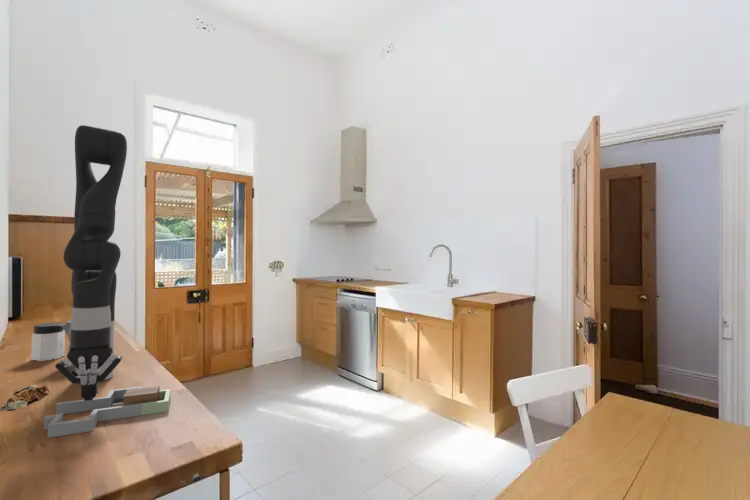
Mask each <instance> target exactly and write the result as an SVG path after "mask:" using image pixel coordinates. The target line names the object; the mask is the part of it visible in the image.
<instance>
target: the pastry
mask: <svg viewBox="0 0 750 500" xmlns="http://www.w3.org/2000/svg"><path fill="white" fill-rule="evenodd" d="M46 392H48V393H50V389H48V387H47V386H46V385H42V386H40V387H38V386H37V385H36V384H34V385H32V386H30V385H26V386H24V387H21V388H20V389H19V390H16V391H14V392H13V395H12V396H10V397H9V398H8V399H7V401H6V403H4V404H3V405H1V410H3V411H4V412H6V411H9V410H19V409H22V408H25V407H27V405H28V403H29V402H33V400H36V399H37V401H39V402H40V401H42V400H43V399H44V398H45V397H46Z"/></svg>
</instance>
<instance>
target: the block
mask: <svg viewBox="0 0 750 500" xmlns="http://www.w3.org/2000/svg"><path fill="white" fill-rule="evenodd" d="M160 390H161V387H160V385H157V386H156V385H155V386H149V387H148V386H147V387H144V388H137V389H128V390H127V391H126V393H125V394H124V396H123V405H122V406H124V405H132V404H140V403H147V402H155V401H159V395H160Z"/></svg>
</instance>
